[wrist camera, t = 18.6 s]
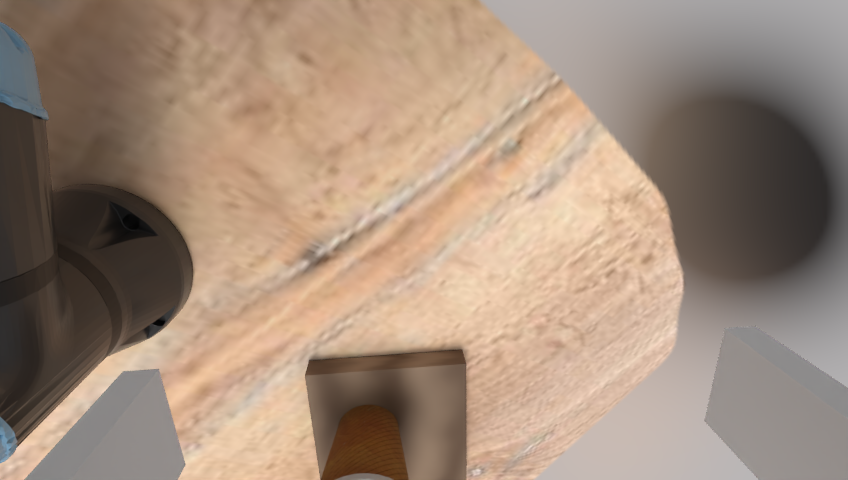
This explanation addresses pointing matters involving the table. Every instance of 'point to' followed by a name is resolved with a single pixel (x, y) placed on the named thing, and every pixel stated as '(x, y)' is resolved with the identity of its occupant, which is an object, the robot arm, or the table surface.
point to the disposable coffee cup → (366, 447)
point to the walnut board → (398, 405)
